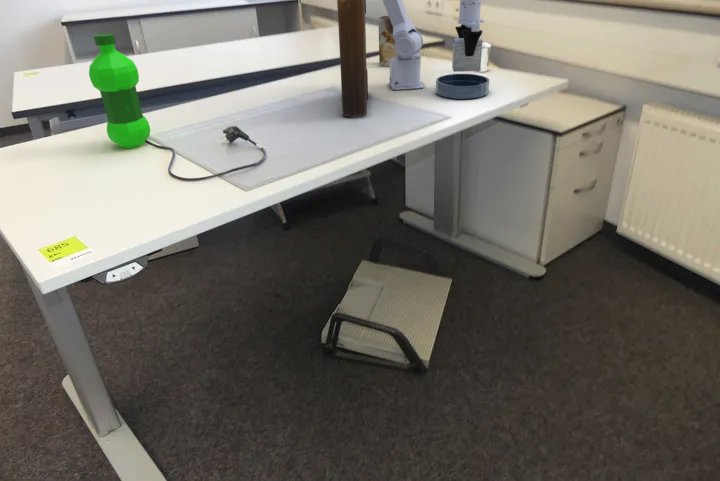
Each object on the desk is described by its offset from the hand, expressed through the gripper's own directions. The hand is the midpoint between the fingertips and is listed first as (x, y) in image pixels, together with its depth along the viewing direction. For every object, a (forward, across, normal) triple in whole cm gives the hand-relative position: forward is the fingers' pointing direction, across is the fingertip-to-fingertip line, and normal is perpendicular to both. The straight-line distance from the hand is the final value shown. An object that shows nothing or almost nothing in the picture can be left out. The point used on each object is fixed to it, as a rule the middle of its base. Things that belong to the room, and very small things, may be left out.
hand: (467, 54), depth 156 cm
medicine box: (+5, 0, 0) cm, 5 cm away
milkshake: (+11, +22, -12) cm, 27 cm away
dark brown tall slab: (+11, -9, +34) cm, 36 cm away
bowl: (+10, -3, +2) cm, 11 cm away
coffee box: (+11, +39, +16) cm, 43 cm away
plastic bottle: (+11, -31, +89) cm, 95 cm away
